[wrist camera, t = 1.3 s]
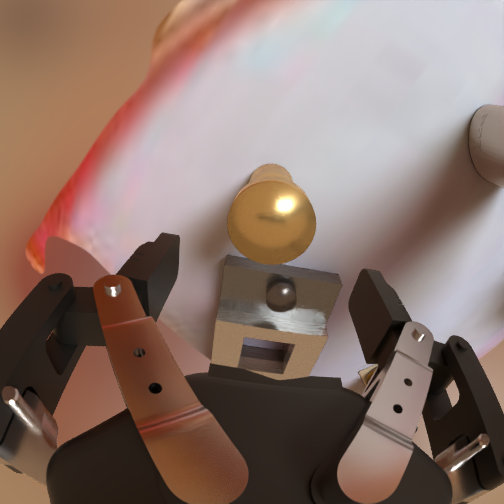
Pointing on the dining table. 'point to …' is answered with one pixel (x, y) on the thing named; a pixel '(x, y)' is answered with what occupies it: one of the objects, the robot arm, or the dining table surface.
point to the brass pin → (271, 217)
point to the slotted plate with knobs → (273, 317)
